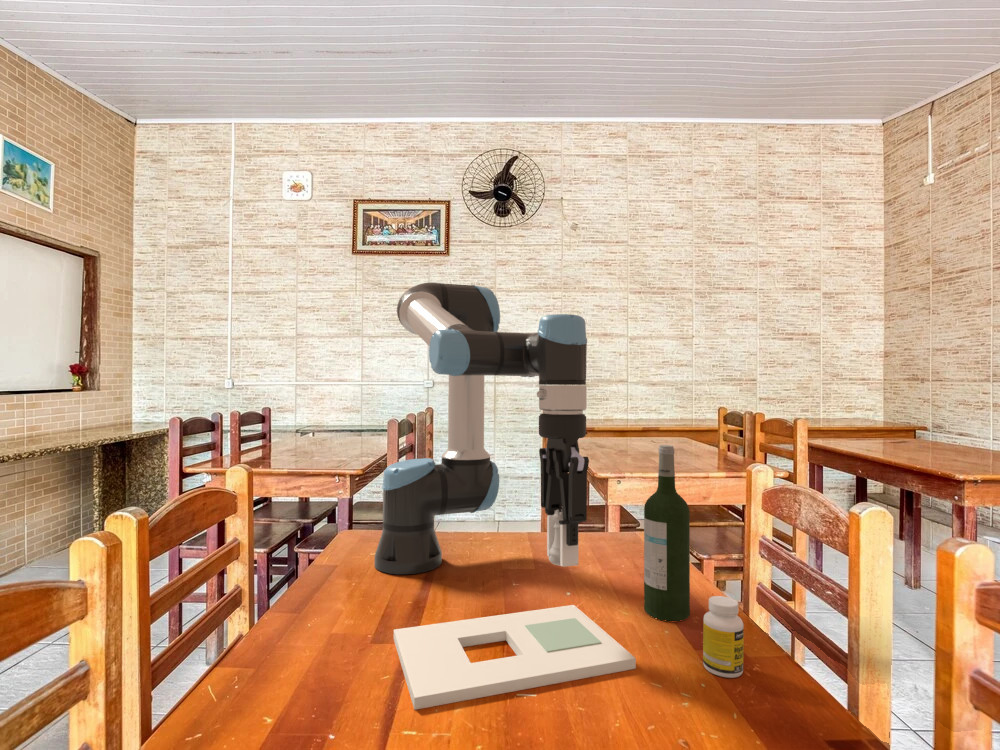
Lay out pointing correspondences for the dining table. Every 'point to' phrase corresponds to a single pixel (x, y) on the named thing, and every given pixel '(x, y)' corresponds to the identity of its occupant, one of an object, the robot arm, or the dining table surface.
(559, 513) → the rook chess piece
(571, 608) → the hole board
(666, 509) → the wine bottle
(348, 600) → the dining table surface
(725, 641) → the supplement bottle
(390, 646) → the dining table surface
